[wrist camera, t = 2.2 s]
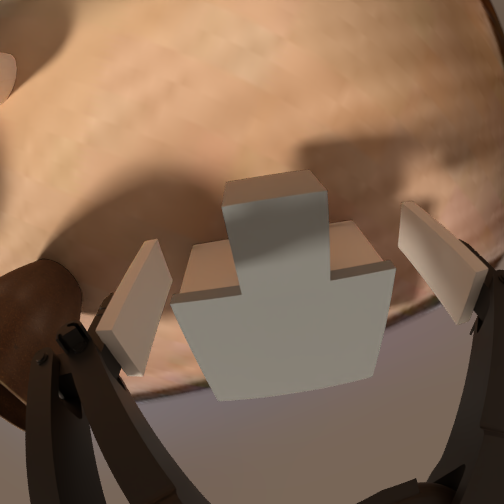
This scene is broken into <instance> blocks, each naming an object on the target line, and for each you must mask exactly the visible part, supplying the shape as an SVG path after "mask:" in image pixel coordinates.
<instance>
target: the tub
mask: <svg viewBox="0 0 504 504" xmlns="http://www.w3.org/2000/svg"><path fill="white" fill-rule="evenodd" d="M329 236H330V271H332V270H337V269H343V268H349V267H354V266H360V265H365V264H371V263H376V262H381V261H383V260H382V259H381V257H380V256H379V254H378V253H377V252H376V250H375V249H374V248H373V246H372V245H371V244H370V242H369V241H368V240H367V238H366V237H365V236H364V234H363V233H362V232H361V230H360V229H359V228H358V227H357V225H356V224H355V223H354V221H353V220H350V221H343V222H336V223H329ZM237 285H239V281H238V276H237V272H236V268H235V264H234V260H233V255H232V251H231V247H230V242H229V239H227V240H221V241H215V242H209V243H203V244H197V245H193V247H192V250H191V254H190V257H189V261H188V264H187V268H186V271H185V275H184V278H183V282H182V286H181V289H180V293H186V292H194V291H201V290H209V289H216V288H223V287H230V286H237Z"/></svg>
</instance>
